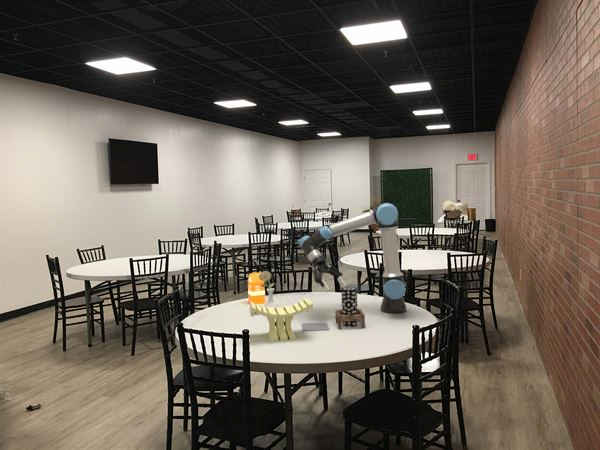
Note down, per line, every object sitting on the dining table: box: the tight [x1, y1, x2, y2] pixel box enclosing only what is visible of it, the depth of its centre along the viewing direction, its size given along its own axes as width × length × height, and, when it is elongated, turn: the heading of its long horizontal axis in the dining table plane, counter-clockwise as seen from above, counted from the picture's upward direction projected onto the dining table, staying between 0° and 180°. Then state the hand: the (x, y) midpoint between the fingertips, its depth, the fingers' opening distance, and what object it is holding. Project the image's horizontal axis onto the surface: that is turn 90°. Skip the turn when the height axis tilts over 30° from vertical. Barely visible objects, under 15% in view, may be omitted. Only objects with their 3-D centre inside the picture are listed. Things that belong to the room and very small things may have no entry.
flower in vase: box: [258, 270, 281, 309], centre depth 313 cm, size 13×11×25 cm
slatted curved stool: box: [249, 297, 314, 342], centre depth 261 cm, size 30×16×18 cm, turn 100°
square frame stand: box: [334, 308, 366, 330], centre depth 278 cm, size 14×14×7 cm
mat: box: [301, 321, 330, 332], centre depth 276 cm, size 14×14×1 cm
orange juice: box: [247, 272, 266, 306], centre depth 337 cm, size 8×9×20 cm
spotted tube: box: [340, 286, 359, 328], centre depth 277 cm, size 8×8×20 cm
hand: (336, 288), depth 283 cm, fingers open, 13 cm apart
